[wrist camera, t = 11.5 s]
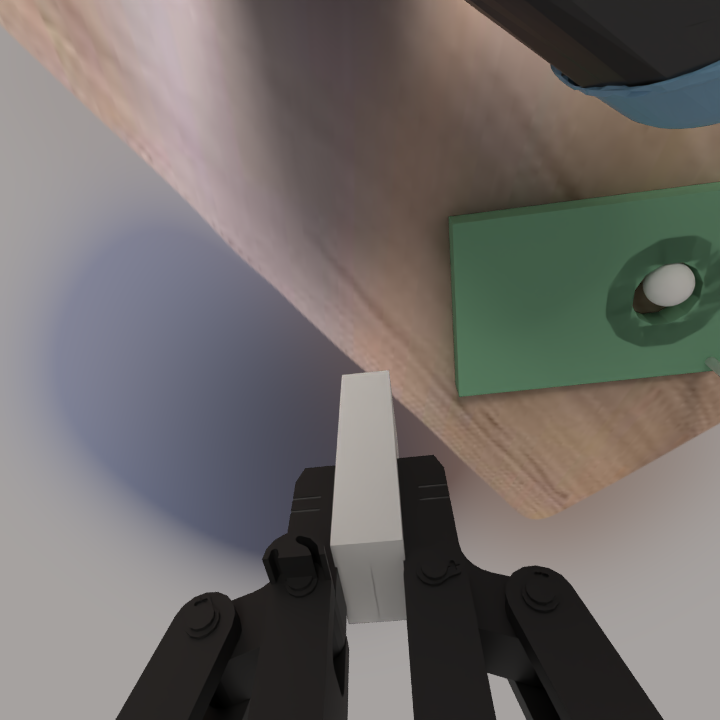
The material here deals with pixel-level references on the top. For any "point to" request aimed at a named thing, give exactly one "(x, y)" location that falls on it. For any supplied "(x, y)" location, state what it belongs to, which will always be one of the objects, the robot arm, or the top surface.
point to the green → (583, 290)
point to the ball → (669, 284)
